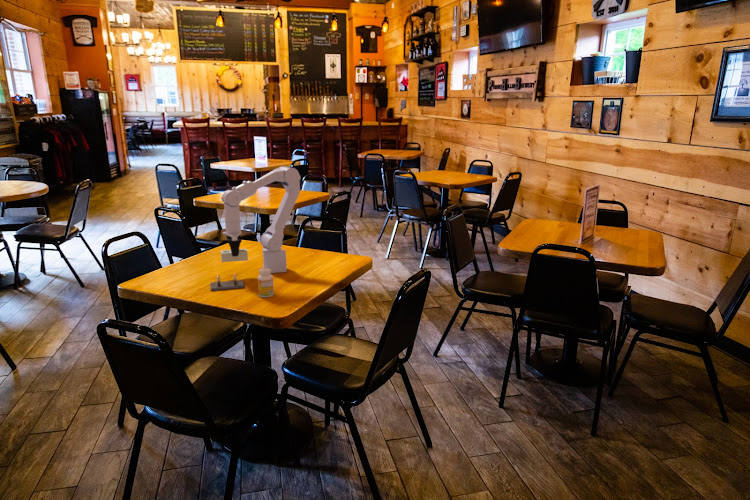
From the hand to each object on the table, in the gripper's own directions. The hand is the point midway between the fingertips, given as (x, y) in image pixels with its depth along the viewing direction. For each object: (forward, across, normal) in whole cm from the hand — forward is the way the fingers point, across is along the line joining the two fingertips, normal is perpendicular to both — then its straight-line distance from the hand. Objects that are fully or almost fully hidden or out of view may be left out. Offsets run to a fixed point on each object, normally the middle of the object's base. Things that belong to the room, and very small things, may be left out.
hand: (234, 254), depth 201 cm
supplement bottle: (+10, +26, +9) cm, 29 cm away
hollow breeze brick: (+2, 0, 0) cm, 2 cm away
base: (+9, +12, -4) cm, 16 cm away
